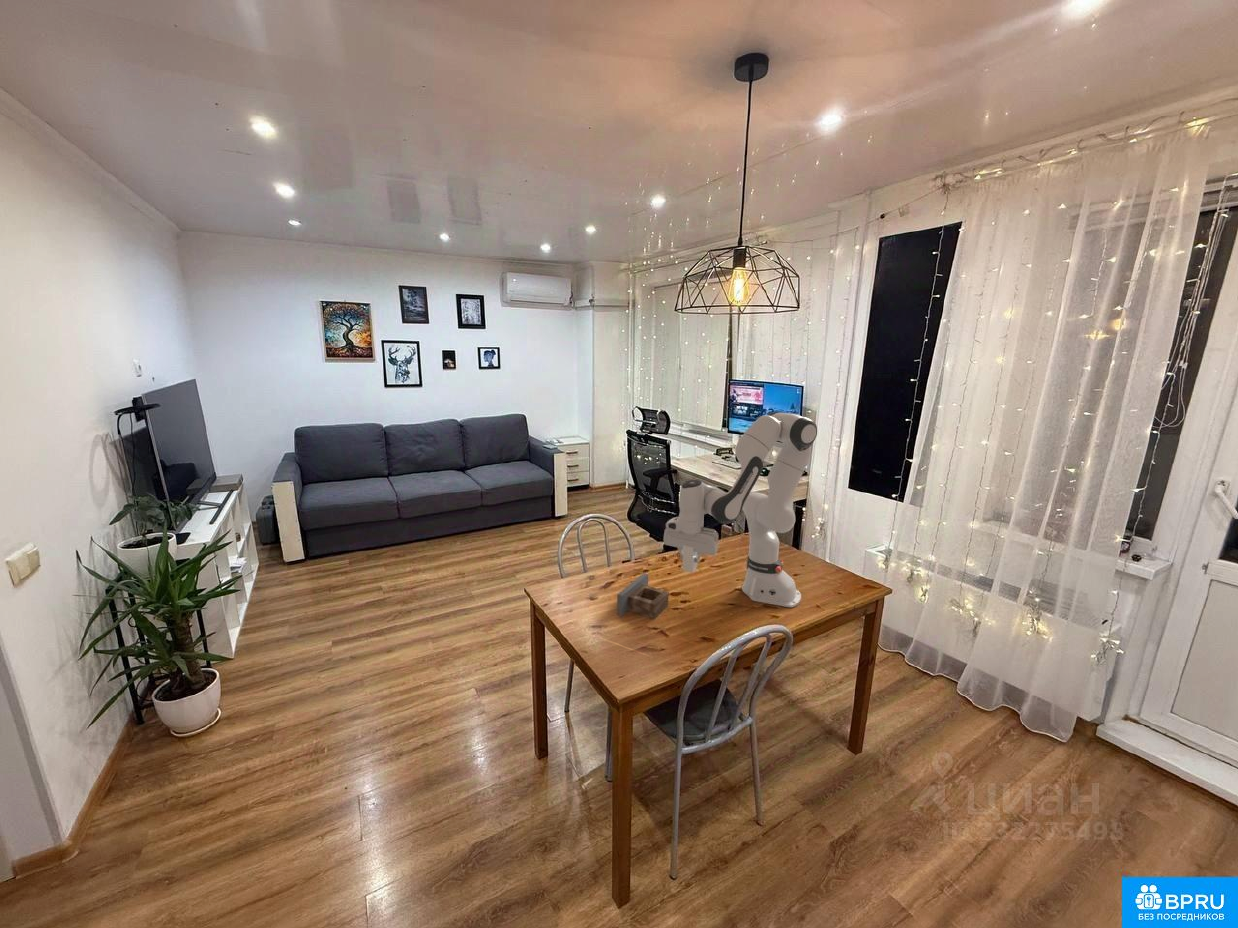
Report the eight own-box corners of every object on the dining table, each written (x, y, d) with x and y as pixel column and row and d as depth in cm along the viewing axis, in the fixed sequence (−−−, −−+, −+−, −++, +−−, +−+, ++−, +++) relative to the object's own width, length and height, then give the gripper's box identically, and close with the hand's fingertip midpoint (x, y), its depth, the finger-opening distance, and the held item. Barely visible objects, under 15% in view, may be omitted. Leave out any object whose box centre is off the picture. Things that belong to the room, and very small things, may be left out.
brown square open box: (668, 606, 185) (668, 591, 183) (654, 619, 176) (655, 604, 174) (642, 598, 190) (642, 584, 189) (627, 611, 181) (628, 596, 180)
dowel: (696, 568, 182) (697, 543, 180) (692, 573, 179) (693, 547, 176) (686, 566, 184) (687, 541, 182) (682, 570, 181) (683, 545, 178)
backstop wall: (647, 592, 194) (648, 574, 192) (621, 615, 178) (622, 595, 176) (643, 591, 195) (643, 572, 193) (617, 614, 179) (617, 594, 177)
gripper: (721, 527, 174) (720, 563, 178) (669, 517, 185) (668, 551, 188) (715, 533, 169) (713, 570, 173) (661, 522, 180) (661, 557, 183)
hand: (689, 560), depth 181 cm, fingers closed on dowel, 4 cm apart
